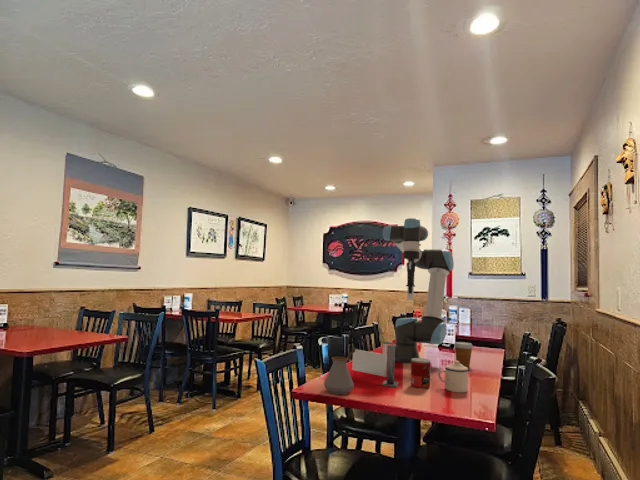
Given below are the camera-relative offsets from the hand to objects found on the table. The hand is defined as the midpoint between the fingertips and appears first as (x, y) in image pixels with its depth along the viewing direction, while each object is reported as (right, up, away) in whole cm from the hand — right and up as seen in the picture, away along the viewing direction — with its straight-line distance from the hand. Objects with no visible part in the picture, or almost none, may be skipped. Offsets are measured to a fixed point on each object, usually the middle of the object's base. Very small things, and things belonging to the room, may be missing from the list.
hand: (410, 300), depth 210 cm
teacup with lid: (+12, -33, -29) cm, 45 cm away
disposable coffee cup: (+32, -38, +22) cm, 55 cm away
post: (-13, -32, -25) cm, 43 cm away
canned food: (-1, -33, -26) cm, 42 cm away
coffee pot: (-33, -30, -36) cm, 58 cm away
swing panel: (-21, -29, -19) cm, 40 cm away
